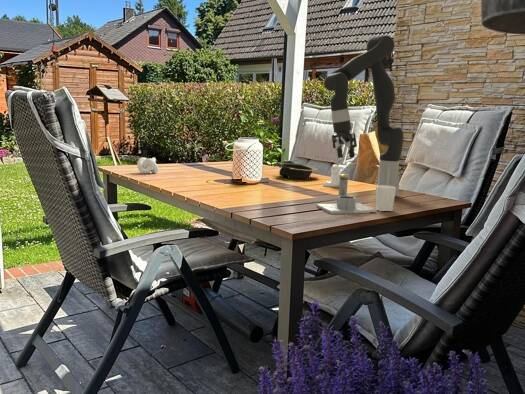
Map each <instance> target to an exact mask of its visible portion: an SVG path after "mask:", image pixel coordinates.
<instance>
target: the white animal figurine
mask: <svg viewBox="0 0 525 394" xmlns="http://www.w3.org/2000/svg"><path fill="white" fill-rule="evenodd" d="M156 162H157V159H156V157H152V158H147V157H140V158H139V159H138V160H137V162H136V163H137V169H138V171H139V172H140V173H141V174H143V175H145V174H149V173H150V172H151V173H152V174H157V173H158V172H159V167H158V164H157V163H156Z"/></svg>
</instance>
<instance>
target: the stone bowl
mask: <svg viewBox="0 0 525 394" xmlns="http://www.w3.org/2000/svg"><path fill="white" fill-rule="evenodd" d="M276 165H277V166H279V167H281V168H280V169H279V172H278V173H279V176H282V177H287V178H288V179H290V180H294V179H295V180H300V179H303V180H307V179H309V178H310V176H311V174H313V173H312V172H314V171H316V172H317V171H318V168H316V167H313V166H311V165H306V164H299V163H295V162H294V161H290V160H285V161H283V162H279V161H276Z"/></svg>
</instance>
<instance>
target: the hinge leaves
mask: <svg viewBox="0 0 525 394" xmlns="http://www.w3.org/2000/svg"><path fill="white" fill-rule="evenodd" d="M316 208H317V209H318V208H319V209H320V210H322V211H323V212H325V213H327V214H330V215H346V214H347V215H348V214H349V215H350V214H352V213H354V214H371V213H370V212H376V213H377V210H376V208H373V207H370V206H368V205H365V204H363V203H360V202H357V197H355V196H351V195H347V196H339V195H338V196H337V197H336V203H316Z"/></svg>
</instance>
